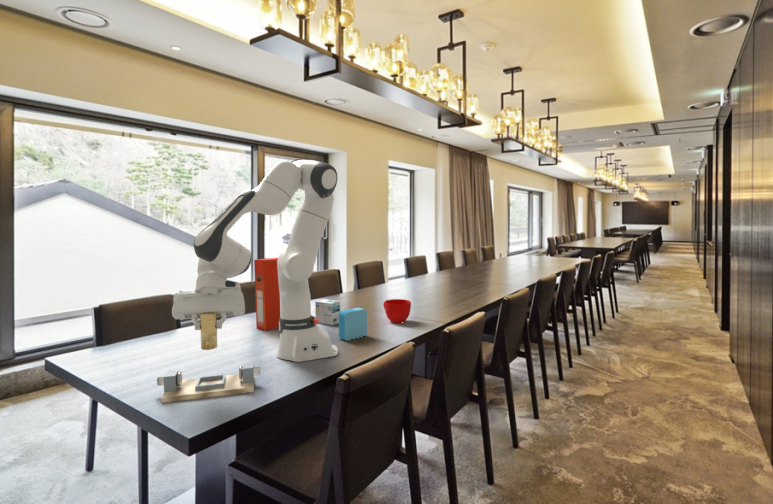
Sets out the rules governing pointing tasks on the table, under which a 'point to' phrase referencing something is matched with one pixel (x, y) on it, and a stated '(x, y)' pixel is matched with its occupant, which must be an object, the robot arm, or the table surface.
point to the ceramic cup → (397, 310)
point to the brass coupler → (208, 331)
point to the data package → (352, 323)
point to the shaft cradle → (207, 384)
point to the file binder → (267, 294)
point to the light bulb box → (327, 311)
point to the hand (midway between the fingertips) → (208, 328)
